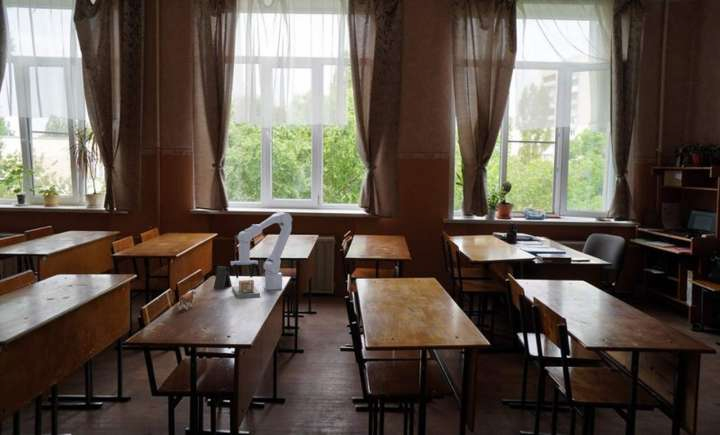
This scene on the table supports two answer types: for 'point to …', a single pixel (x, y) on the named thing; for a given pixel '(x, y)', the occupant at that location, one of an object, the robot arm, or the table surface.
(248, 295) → the deck
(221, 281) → the phone stand
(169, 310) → the table surface
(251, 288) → the tunnel
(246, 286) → the block
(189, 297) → the bull figurine
